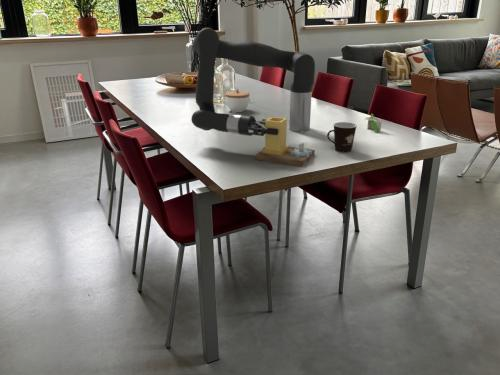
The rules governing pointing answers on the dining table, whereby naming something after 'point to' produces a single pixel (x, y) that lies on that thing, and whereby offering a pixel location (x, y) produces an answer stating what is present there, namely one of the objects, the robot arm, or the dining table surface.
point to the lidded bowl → (237, 100)
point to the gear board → (285, 157)
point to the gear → (301, 151)
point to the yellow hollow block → (276, 136)
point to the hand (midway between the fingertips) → (281, 129)
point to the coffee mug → (343, 136)
